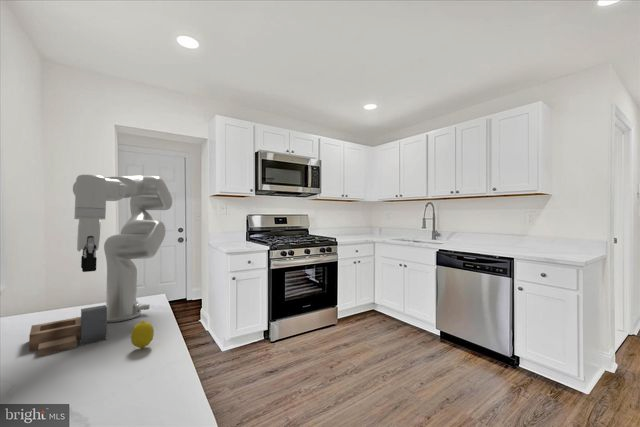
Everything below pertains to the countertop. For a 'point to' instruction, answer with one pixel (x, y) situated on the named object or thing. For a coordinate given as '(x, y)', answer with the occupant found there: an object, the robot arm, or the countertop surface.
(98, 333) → the bracket
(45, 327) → the socket
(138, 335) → the lemon
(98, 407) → the countertop surface
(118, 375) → the countertop surface
